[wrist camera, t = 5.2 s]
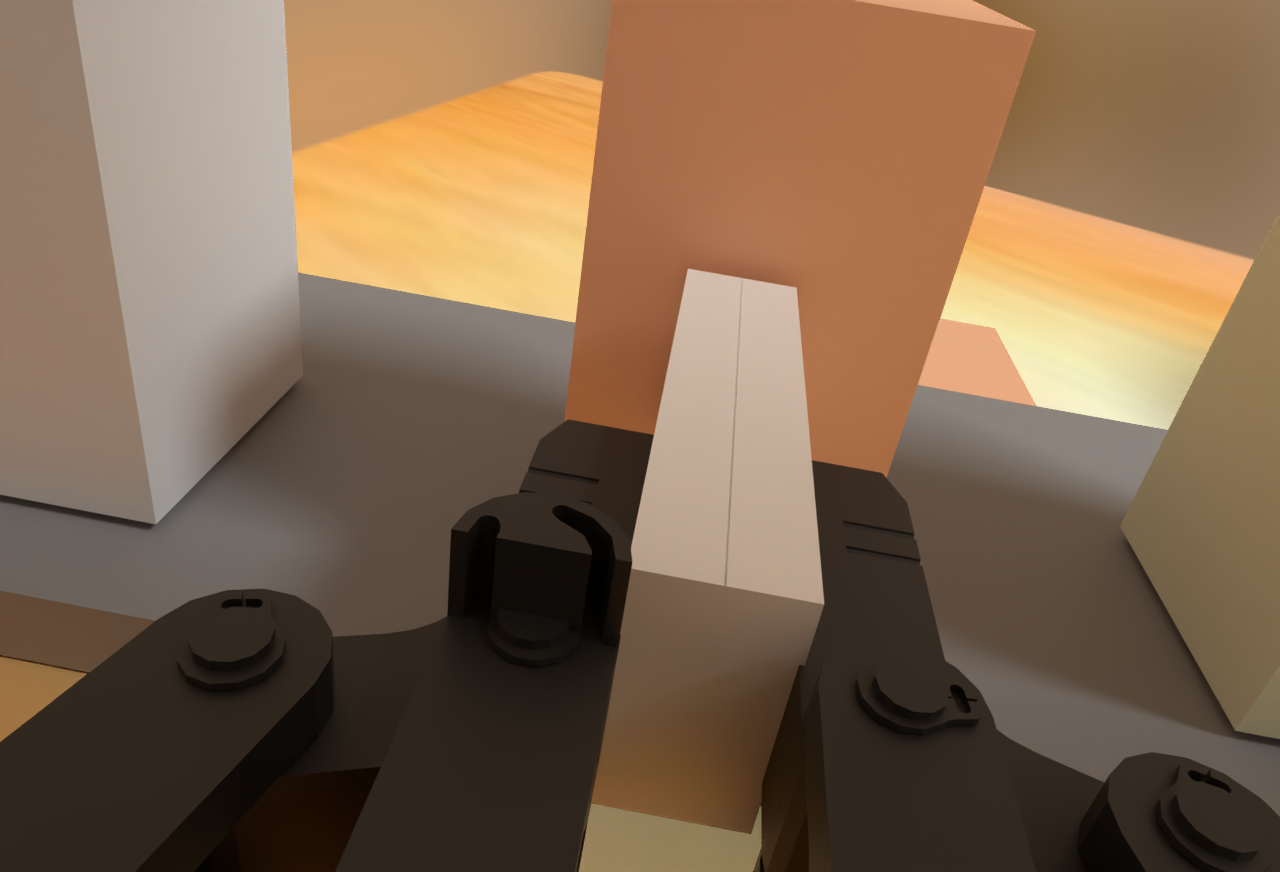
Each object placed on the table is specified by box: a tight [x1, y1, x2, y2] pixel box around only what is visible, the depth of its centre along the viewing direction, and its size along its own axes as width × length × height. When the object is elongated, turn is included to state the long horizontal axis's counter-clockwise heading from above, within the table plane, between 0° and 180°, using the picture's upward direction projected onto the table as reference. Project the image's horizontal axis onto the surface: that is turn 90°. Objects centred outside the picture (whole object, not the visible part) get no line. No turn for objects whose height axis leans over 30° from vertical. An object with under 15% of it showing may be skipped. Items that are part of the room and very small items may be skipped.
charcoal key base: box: [0, 273, 1280, 816], centre depth 21 cm, size 32×14×2 cm, turn 83°
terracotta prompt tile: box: [918, 319, 1036, 406], centre depth 31 cm, size 6×6×1 cm
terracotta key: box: [564, 0, 1036, 478], centre depth 16 cm, size 5×6×10 cm
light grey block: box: [0, 0, 303, 524], centre depth 16 cm, size 5×6×10 cm
